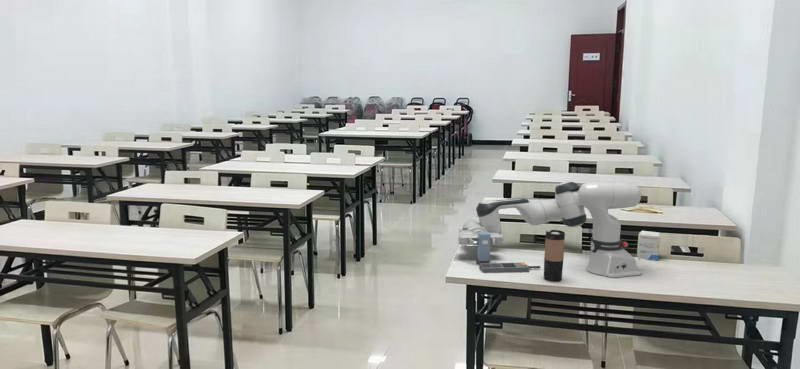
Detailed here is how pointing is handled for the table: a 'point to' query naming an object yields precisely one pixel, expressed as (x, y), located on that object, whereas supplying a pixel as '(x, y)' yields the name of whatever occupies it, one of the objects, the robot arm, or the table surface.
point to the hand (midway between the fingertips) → (484, 243)
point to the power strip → (504, 267)
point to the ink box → (649, 245)
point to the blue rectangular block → (483, 247)
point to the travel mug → (554, 255)
